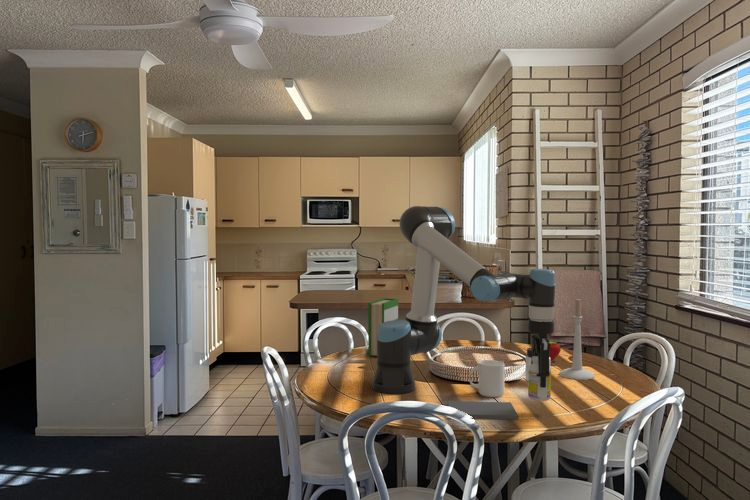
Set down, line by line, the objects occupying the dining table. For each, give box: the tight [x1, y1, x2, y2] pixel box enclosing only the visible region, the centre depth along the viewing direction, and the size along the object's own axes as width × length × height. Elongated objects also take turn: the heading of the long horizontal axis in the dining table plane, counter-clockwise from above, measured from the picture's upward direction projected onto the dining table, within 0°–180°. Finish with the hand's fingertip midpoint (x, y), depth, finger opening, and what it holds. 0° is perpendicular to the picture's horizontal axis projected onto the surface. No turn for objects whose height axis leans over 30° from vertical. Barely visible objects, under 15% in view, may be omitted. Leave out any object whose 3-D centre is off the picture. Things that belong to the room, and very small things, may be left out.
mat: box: [447, 400, 519, 421], centre depth 176 cm, size 20×13×1 cm, turn 86°
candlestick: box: [559, 298, 596, 381], centre depth 219 cm, size 13×13×30 cm
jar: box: [525, 346, 552, 382], centre depth 211 cm, size 9×8×12 cm
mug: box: [468, 359, 506, 398], centre depth 195 cm, size 9×12×11 cm
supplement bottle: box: [527, 356, 552, 402], centre depth 175 cm, size 7×7×13 cm
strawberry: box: [549, 340, 562, 362], centre depth 244 cm, size 6×8×10 cm
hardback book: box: [367, 297, 399, 358], centre depth 257 cm, size 18×7×24 cm, turn 158°
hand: (539, 393), depth 175 cm, fingers closed on supplement bottle, 7 cm apart
